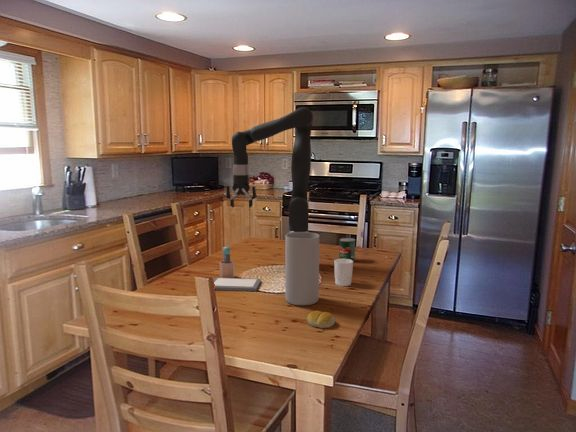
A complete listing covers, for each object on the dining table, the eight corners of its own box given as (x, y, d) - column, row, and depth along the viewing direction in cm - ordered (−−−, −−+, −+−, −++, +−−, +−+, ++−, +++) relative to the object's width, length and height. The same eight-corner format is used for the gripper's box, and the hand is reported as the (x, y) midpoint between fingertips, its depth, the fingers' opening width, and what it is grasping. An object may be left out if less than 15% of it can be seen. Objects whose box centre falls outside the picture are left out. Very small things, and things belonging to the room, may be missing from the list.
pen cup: (235, 275, 195) (234, 260, 194) (232, 279, 189) (231, 264, 188) (222, 275, 196) (221, 260, 195) (218, 279, 190) (218, 263, 189)
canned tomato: (338, 262, 219) (339, 240, 217) (339, 258, 226) (340, 237, 225) (354, 262, 217) (355, 241, 216) (355, 259, 225) (355, 238, 223)
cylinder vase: (323, 297, 167) (324, 233, 163) (311, 308, 156) (311, 240, 152) (293, 293, 172) (293, 231, 168) (279, 303, 161) (279, 236, 157)
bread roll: (314, 317, 148) (314, 305, 148) (338, 322, 144) (338, 310, 143) (302, 325, 141) (302, 313, 141) (326, 331, 137) (327, 319, 136)
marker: (230, 275, 194) (230, 246, 192) (229, 277, 191) (229, 248, 189) (224, 275, 194) (223, 246, 192) (222, 277, 191) (222, 248, 189)
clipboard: (261, 281, 187) (261, 278, 187) (256, 291, 174) (255, 287, 174) (215, 280, 189) (215, 277, 188) (207, 289, 176) (207, 286, 176)
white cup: (354, 282, 186) (354, 259, 185) (350, 287, 179) (351, 264, 177) (336, 280, 189) (336, 257, 187) (331, 285, 181) (332, 262, 180)
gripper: (256, 173, 212) (257, 206, 215) (228, 173, 214) (228, 206, 216) (254, 174, 205) (254, 208, 207) (224, 174, 206) (225, 208, 209)
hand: (241, 207), depth 212 cm, fingers open, 8 cm apart
